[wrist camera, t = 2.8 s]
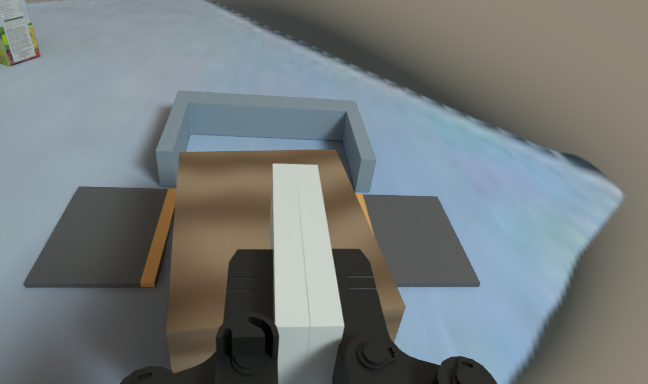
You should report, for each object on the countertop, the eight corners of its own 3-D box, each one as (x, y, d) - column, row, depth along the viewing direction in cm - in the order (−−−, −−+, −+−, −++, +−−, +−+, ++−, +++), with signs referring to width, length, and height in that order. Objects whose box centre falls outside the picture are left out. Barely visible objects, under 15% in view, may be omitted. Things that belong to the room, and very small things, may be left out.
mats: (478, 286, 38) (480, 282, 38) (25, 287, 33) (23, 282, 33) (436, 199, 48) (437, 195, 47) (80, 189, 42) (79, 185, 42)
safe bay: (369, 192, 47) (376, 159, 45) (160, 185, 44) (155, 150, 42) (350, 129, 58) (355, 100, 56) (181, 121, 55) (178, 90, 53)
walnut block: (376, 398, 29) (405, 306, 24) (180, 428, 26) (165, 331, 21) (323, 233, 42) (335, 149, 36) (187, 242, 39) (179, 152, 34)
